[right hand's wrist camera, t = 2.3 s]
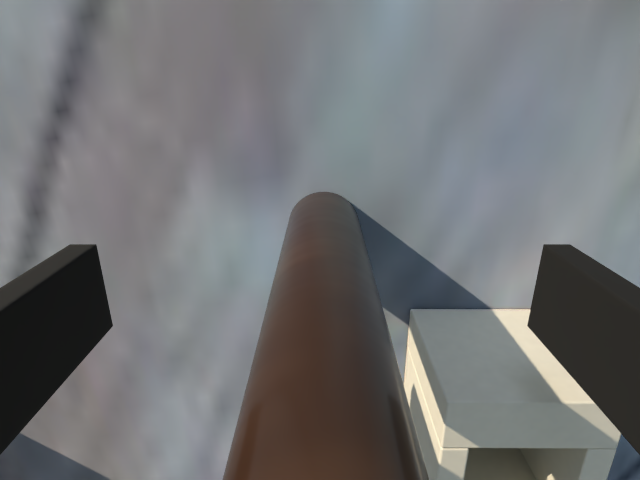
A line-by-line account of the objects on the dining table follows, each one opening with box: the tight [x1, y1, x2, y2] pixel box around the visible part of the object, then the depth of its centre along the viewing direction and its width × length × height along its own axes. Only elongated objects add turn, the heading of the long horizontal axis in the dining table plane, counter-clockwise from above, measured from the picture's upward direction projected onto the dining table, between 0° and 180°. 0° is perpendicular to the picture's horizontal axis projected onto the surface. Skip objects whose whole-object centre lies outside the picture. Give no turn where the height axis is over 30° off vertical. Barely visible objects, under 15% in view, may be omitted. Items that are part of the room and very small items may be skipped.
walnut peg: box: [223, 192, 429, 480], centre depth 11 cm, size 3×3×14 cm
